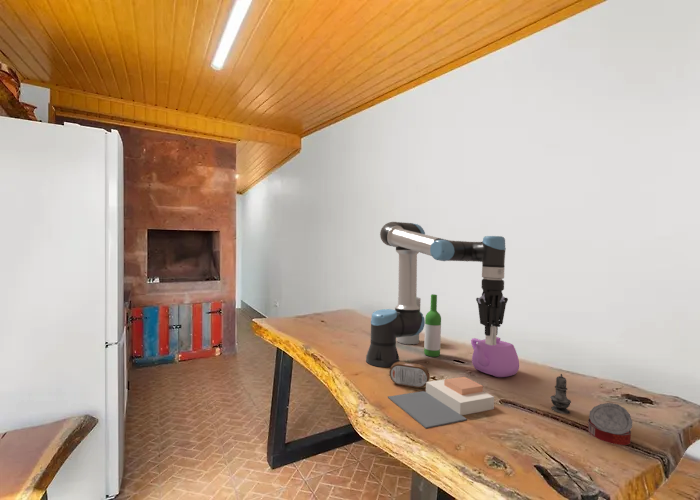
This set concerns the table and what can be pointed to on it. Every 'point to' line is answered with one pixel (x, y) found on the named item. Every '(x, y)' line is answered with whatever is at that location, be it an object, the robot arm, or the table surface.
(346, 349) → the table surface
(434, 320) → the wine bottle
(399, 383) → the tin
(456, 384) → the tile
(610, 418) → the canned food
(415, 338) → the cylinder vase
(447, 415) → the mat
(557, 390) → the dark grey turned piece
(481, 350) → the teapot
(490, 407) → the plate
